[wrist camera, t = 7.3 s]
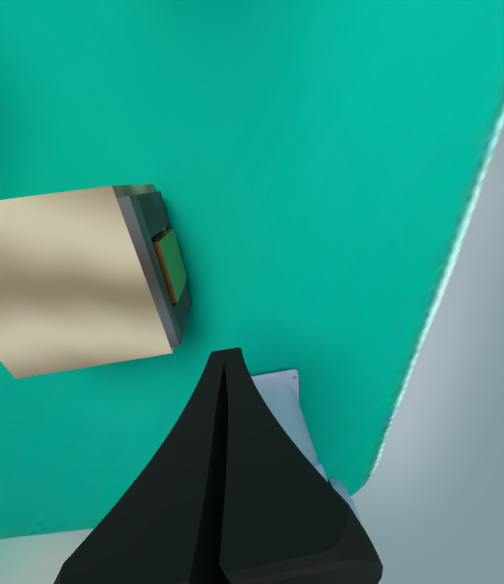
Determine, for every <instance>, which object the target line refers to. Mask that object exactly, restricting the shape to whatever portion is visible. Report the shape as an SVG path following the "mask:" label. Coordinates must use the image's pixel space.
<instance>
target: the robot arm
mask: <svg viewBox="0 0 504 584" xmlns="http://www.w3.org/2000/svg"><path fill="white" fill-rule="evenodd" d="M294 376H295V377H294ZM382 570H383V566H382V564H381V561H380V559H379V557H378V554H377V552H376V550H375V548H374V546H373V544H372V542H371V540H370V538H369V537H368V535H367V533H366V531H365V530H364V528H363V525H362V523H361V520H360V517H359V515H358V513H357V510H356V508H355V505H354V503H353V501H352V499H351V496H350V494H349V492H348V490H347V489H346V487H345V485H344V484H342V483H341V482H340V481H338V480H337V479H336V478H335V477H329V478H328V481H327V478H326V475H325V472H324V469H323V466H322V465H321V464H319V462H318V459H317V456H316V453H315V450H314V447H313V444H312V441H311V438H310V435H309V432H308V429H307V426H306V423H305V420H304V417H303V414H302V411H301V408H300V405H299V378H298V371H297V370H296V369H292V370H286V371H280V372H274V373H268V374H262V375H256V376H250V374H249V372H248V369H247V367H246V364H245V362H244V359H243V355H242V349H241V348H239V347H238V348H232V349H226V350H220V351H214V352H212V353H211V354H210V356H209V359H208V361H207V364H206V366H205V369H204V371H203V373H202V376H201V378H200V380H199V382H198V384H197V386H196V388H195V390H194V392H193V394H192V396H191V398H190V399H189V401H188V403H187V405H186V407H185V408H184V410H183V412H182V414H181V415H180V417H179V419H178V420H177V422H176V424H175V425H174V427H173V428H172V430H171V431H170V433H169V434H168V436H167V438H166V439H165V441H164V442H163V443H162V445H161V446H160V448H159V449H158V450H157V452H156V453H155V455H154V456H153V458H152V459H151V460H150V462H149V463H148V464H147V466H146V467H145V468H144V470H143V471H142V472H141V474H140V475H139V476H138V477H137V479H136V480H135V481H134V482H133V484H132V485H131V486H130V487H129V489H128V490H127V491H126V492H125V493H124V495H123V496H122V497H121V498H120V500H119V501H118V502H117V503H116V505H115V506H114V507H113V508H112V509H111V511H110V512H109V513H108V514H107V515H106V516H105V518H104V519H103V520H102V521H101V522H100V523H99V524H98V525H97V527H96V528H95V529H94V530H93V531H92V532H91V533H90V534H89V536H88V537H87V538H86V539H85V540H84V541H83V542H82V543H81V545H80V546H79V547H78V548H77V549H76V550H75V551H74V553H73V554H72V555H71V556H70V557H69V558H68V559H67V560H66V561H65V562H64V564H63V565H62V567H61V570H60V572H59V574H58V576H57V578H56V580H55V582H54V584H382V583H381V577H382Z"/></svg>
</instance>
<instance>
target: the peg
mask: <svg viewBox="0 0 504 584" xmlns="http://www.w3.org/2000/svg"><path fill="white" fill-rule="evenodd" d="M151 240H152V244H153V247H154V250H155V253H156V256H157V259H158V262H159V265H160V268H161V271H162V274H163V278H164V281H165V284H166V287H167V290H168V293H169V296H170V299H171V302H172V303H176V302H178V301H179V298H180V296H181V293H182V291H183V288H184V285H185V283H186V280H187V275H186V272H185V268H184V264H183V261H182V257H181V253H180V250H179V246H178V242H177V238H176V235H175V231H174V228H173V229H165V230H161V231H160V232H158V233H157V234H156V235H154V236H153V237H152V238H151Z"/></svg>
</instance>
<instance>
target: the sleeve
mask: <svg viewBox="0 0 504 584" xmlns="http://www.w3.org/2000/svg"><path fill="white" fill-rule="evenodd" d="M167 225H169V220H168V217H167V213H166V210H165V206H164V202H163V199H162V195H161V191H159V192H155V190H154V187H153V184H149V185H122V186H107V187H99V188H91V189H83V190H75V191H67V192H60V193H52V194H44V195H36V196H28V197H20V198H12V199H5V200H0V361H1V362H2V363H3V365H4V366H5V367H6V368H7V369H8V371H9V372H10V373H11V374H12V375H13V376H14V378H15V379H16V378H23V377H29V376H35V375H41V374H47V373H53V372H60V371H66V370H72V369H78V368H84V367H91V366H97V365H103V364H109V363H115V362H121V361H128V360H134V359H140V358H146V357H152V356H158V355H165V354H171V353H173V350H174V347H176V346H180V343H181V340H182V336H183V333H184V329H185V325H186V322H187V318H188V314H189V311H190V307H191V300H190V296H189V293H188V289H187V285H186V283H185V285H184V288H183V291H182V293H181V296H180V298H179V301H178V302H176V303H172V302H171V299H170V296H169V293H168V290H167V287H166V284H165V281H164V278H163V274H162V271H161V268H160V265H159V262H158V259H157V256H156V253H155V250H154V247H153V244H152V240H151V238H152V237H153V236H154V235H156V234H157V233H158V232H160V231H161V230H165V227H166V226H167Z"/></svg>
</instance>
